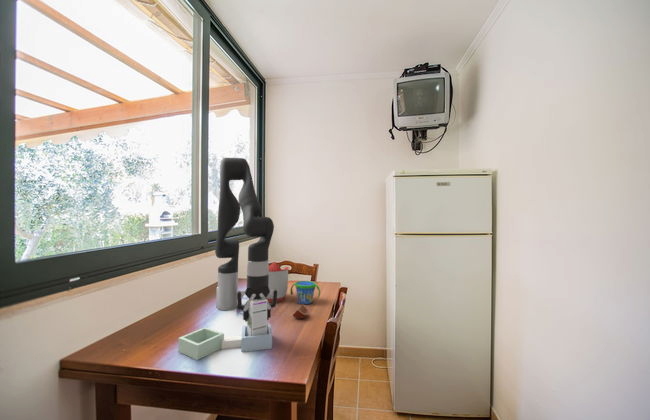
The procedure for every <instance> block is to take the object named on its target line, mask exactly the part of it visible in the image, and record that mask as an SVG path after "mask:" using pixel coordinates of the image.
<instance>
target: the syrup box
mask: <svg viewBox="0 0 650 420" xmlns="http://www.w3.org/2000/svg"><path fill="white" fill-rule="evenodd" d="M246 299H247V300H249V298H248V297H247V298H246ZM247 300H246V301H247ZM267 324H268V320H267V299H254V300H252V301H250V306H249V307H248V312H247V322H246V326H247V336H255V335H265V334H267Z"/></svg>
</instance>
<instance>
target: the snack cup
mask: <svg viewBox="0 0 650 420" xmlns="http://www.w3.org/2000/svg"><path fill="white" fill-rule="evenodd" d="M294 286H295V291H296V299H297V302H298V304H299V305H303V304H304V305H310V304H312V303H313V300H314V299H313V298H314V294H315V289H317V290H318V295H317V298H318V299H319V298H320V295H321V289H320V286H319V285H318V284H317V283H316V282H315V281H311V280H299V281H296V282H294V283H293V284H292V285H291V288H290V289H289V290H290V293H289V294H290V295H291V296H293V294H294V293H293V291H294V290H293V287H294Z"/></svg>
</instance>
